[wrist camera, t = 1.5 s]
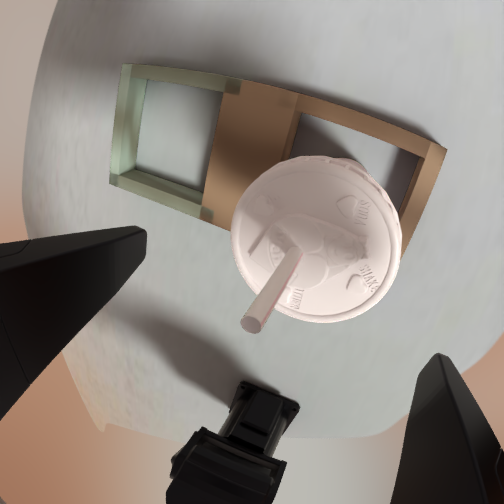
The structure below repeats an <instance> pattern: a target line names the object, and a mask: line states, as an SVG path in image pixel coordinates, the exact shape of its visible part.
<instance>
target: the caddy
mask: <svg viewBox="0 0 504 504" xmlns="http://www.w3.org/2000/svg"><path fill="white" fill-rule="evenodd" d="M147 79H148V80H156V81H163V82H169V83H176V84H182V85H188V86H193V87H199V88H204V89H209V90H214V91H219V92H224V93H223V98H222V102H221V107H220V111H219V116H218V121H217V126H216V131H215V136H214V140H213V145H212V151H211V156H210V161H209V166H208V172H207V177H206V182H205V188H204V193H202V192H199V191H196V190H193V189H191V188H188V187H185V186H182V185H179V184H176V183H174V182H171V181H168V180H165V179H162V178H159V177H156V176H153V175H151V174H148V173H145V172H142V171H139V170H136V169H135V166H136V156H137V147H138V138H139V130H140V123H141V116H142V109H143V102H144V96H145V90H146V84H147ZM301 113H305V114H309V115H312V116H315V117H318V118H321V119H324V120H328V121H331V122H334V123H336V124H339V125H342V126H345V127H348V128H351V129H354V130H356V131H359V132H362V133H365V134H367V135H370V136H372V137H375V138H378V139H380V140H383V141H385V142H388V143H390V144H393V145H395V146H397V147H400V148H402V149H405V150H407V151H409V152H412V153H414V154H416V155H418V156H420V158H419V160H418V163H417V166H416V169H415V171H414V174H413V177H412V179H411V182H410V184H409V187H408V189H407V192H406V194H405V197H404V199H403V202H402V204H401V207H400V209H399V212H398V218H399V222H400V227H401V232H402V244H401V257H400V260H401V258H402V256H403V254H404V252H405V250H406V248H407V246H408V244H409V242H410V239H411V237H412V235H413V233H414V231H415V229H416V226H417V224H418V222H419V220H420V217H421V215H422V213H423V211H424V208H425V206H426V204H427V201H428V199H429V196H430V194H431V192H432V189H433V187H434V184H435V182H436V179H437V176H438V174H439V171H440V169H441V166H442V163H443V161H444V158H445V155H446V152H447V150H448V149H446V148H444V147H443V146H441V145H439V144H437V143H435V142H432V141H430V140H428V139H426V138H424V137H421V136H419V135H417V134H415V133H412V132H410V131H408V130H405V129H403V128H400V127H398V126H395V125H393V124H390V123H388V122H385V121H383V120H380V119H378V118H375V117H372V116H370V115H367V114H364V113H361V112H358V111H356V110H353V109H350V108H347V107H344V106H341V105H338V104H335V103H332V102H328V101H325V100H322V99H319V98H315V97H312V96H309V95H305V94H302V93H298V92H294V91H291V90H287V89H283V88H279V87H275V86H271V85H267V84H262V83H258V82H254V81H249V80H244V79H239V78H234V77H229V76H224V75H219V74H213V73H207V72H201V71H194V70H187V69H180V68H172V67H164V66H155V65H144V64H125V63H123V64H122V69H121V75H120V82H119V88H118V95H117V103H116V110H115V119H114V128H113V138H112V149H111V163H110V179H109V184H111V185H114V186H117V187H119V188H122V189H124V190H127V191H129V192H132V193H135V194H137V195H140V196H142V197H145V198H147V199H150V200H152V201H155V202H158V203H160V204H163V205H165V206H168V207H170V208H173V209H175V210H178V211H180V212H183V213H185V214H188V215H190V216H193V217H196V218H198V219H201V220H203V221H206V222H208V223H211V224H213V225H216V226H218V227H221V228H223V229H226V230H228V231H231V223H232V218H233V214H234V211H235V208H236V206H237V203H238V202H239V200H240V198H241V196H242V195H243V193H244V192H245V190H246V189H247V188H248V187H249V186H250V185H251V184H252V183H253V182H254V181H255V180H256V179H257V178H258V177H260V175H261V174H263V173H264V172H266V171H267V170H269V169H270V168H272V167H273V166H275V165H276V164H278V163H280V162H283V161H286V160H289V157H290V153H291V149H292V146H293V142H294V138H295V135H296V131H297V128H298V124H299V120H300V117H301Z"/></svg>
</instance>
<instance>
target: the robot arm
mask: <svg viewBox="0 0 504 504" xmlns="http://www.w3.org/2000/svg"><path fill="white" fill-rule="evenodd" d="M146 246H147V232H146V231H145V230H144V229H142V228H140V227H138V226H126V227H118V228H110V229H102V230H94V231H87V232H79V233H72V234H65V235H58V236H51V237H44V238H37V239H33V240H31V239H30V240H24V241H17V242H10V243H2V244H0V421H1V419H2V418H3V417H4V416H5V414H6V413H7V412H8V411H9V410H10V408H11V407H12V406H13V405H14V404H15V402H16V401H17V400H18V399H19V398H20V397H21V395H22V394H23V393H24V392H25V391H26V390H27V388H28V387H29V386H30V384H32V382H33V381H34V380H35V379H36V378H37V377H38V376H39V375H40V374H41V372H42V371H43V370H44V369H45V368H46V367H47V365H49V364H50V362H51V361H52V360H53V359H54V358H55V357H56V356H57V355H58V354H59V353H60V352H61V350H62V349H63V348H64V347H65V346H66V345H67V344H68V343H69V342H70V341H71V340H72V339H73V338H74V337H75V335H76V334H77V333H78V332H79V331H80V330H81V329H82V328H83V327H84V326H85V325H86V324H87V323H88V322H89V321H90V320H91V319H92V318H93V317H94V316H95V315H96V314H97V313H98V312H99V311H100V310H101V309H102V308H103V306H104V305H105V304H106V303H107V302H108V301H109V300H110V299H111V298H112V297H113V296H114V295H115V294H116V293H117V292H118V291H119V290H120V288H121V287H122V286H123V285H124V283H125V282H126V281H127V280H128V279H129V277H130V276H131V275H132V274H133V272H134V271H135V270H136V269H137V268H138V266H139V265H140V264H141V263H142V262H143V260H144V258H145V256H146ZM299 410H300V406H299V405H297V404H295V403H293V402H290V401H288V400H285V399H283V398H281V397H278V396H276V395H274V394H271V393H269V392H267V391H264V390H262V389H260V388H258V387H255V386H253V385H251V384H249V383H247V382H244V381H242V382H240V384H239V386H238V388H237V391H236V394H235V397H234V399H233V402H232V405H231V408H230V410H229V413H230V414H229V416H228V417H227V419H226V421H225V423H224V424H223V426H222V428H221V429H220V431H219V433H218V434H216V433H213V432H211V431H209V430H207V428H205V427H203V426H202V427H201V429H200V430H199V431H195V432H194V434H193V435H192V437H191V438H190V440H189V441H188V442H187V444H186V445H185V446H184V447H183V448H181V449H180V450H179V451H178V452H177V453H176V454H175V455H174V456H173V457H172V459H171V463H172V469H171V473H170V478H171V479H173V481H172V482H171V484H170V486H169V487H168V489H167V491H166V504H272V502H273V500H274V498H275V496H276V493H277V490H278V488H279V485H280V482H281V479H282V476H283V473H284V471H285V467H286V464H287V462H285V461H283V460H282V461H280V460H278V459H275V458H272V456H273V454H274V451H275V449H276V447H277V445H278V442H279V440H280V438H281V436H282V435H283V433H284V432H285V431H286V429H287V428H288V426H289V425H290V424H291V422H292V421H293V419H294V418H295V416H296V415H297V413H298V412H299ZM500 448H501V446H500V444H499V442H498V440H497V438H496V436H495V434H494V432H493V430H492V429H491V427H490V425H489V423H488V421H487V420H486V418H485V416H484V414H483V412H482V411H481V409H480V407H479V405H478V404H477V402H476V400H475V399H474V397H473V395H472V393H471V392H470V390H469V388H468V387H467V385H466V383H465V382H464V380H463V379H462V377H461V375H460V374H459V372H458V370H457V369H456V367H455V366H454V364H453V363H452V361H451V359H450V358H449V357H448V356H445V355H443V354H440V353H436V354H435V355H434V356H433V357H432V358H431V359H430V360H429V362H428V363H427V364H426V365H425V367H424V368H423V369H422V370H421V372H420V373H419V375H418V378H417V383H416V387H415V392H414V396H413V400H412V405H411V409H410V413H409V417H408V421H407V426H406V431H405V437H404V443H403V448H402V454H401V459H400V465H399V469H398V474H397V478H396V482H395V487H394V491H393V495H392V499H391V502H390V504H504V451H503V449H500ZM0 504H6V503H5V502H4V501H3V500H2V499H1V497H0Z"/></svg>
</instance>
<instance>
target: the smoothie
mask: <svg viewBox="0 0 504 504" xmlns="http://www.w3.org/2000/svg"><path fill="white" fill-rule="evenodd" d="M401 244H402V232H401V227H400V222H399V218H398V213H397V211H396V209H395V207H394V205H393V204H392V202H391V200H390V198H389V196H388V194H387V193H386V191H385V190H384V189H383V188H382V187H381V186H380V185H379V184H378V183H377V182H376V181H375V180H374V179H373V178H372V177H371V176H370V175H369V173H368V172H367V170H366V169H365V168H364V167H363V166H362V165H361V164H359V163H358V162H356V161H354V160H352V159H348V158H331V157H327V156H299V157H296V158H293V159H289V160H286V161H283V162H280V163H278V164H276V165H275V166H273V167H272V168H270V169H269V170H267V171H266V172H264V173H263V174H261V175H260V177H258V178H257V179H256V180H255V181H254V182H253V183H252V184H251V185H250V186H249V187H248V188H247V189H246V190H245V192H244V193H243V195H242V196H241V198H240V200H239V202H238V203H237V206H236V208H235V211H234V214H233V218H232V223H231V246H232V251H233V256H234V259H235V262H236V264H237V267H238V269H239V271H240V273H241V275H242V276H243V278H244V280H245V281H246V283H247V284H248V285H249V287H250V288H251V289H252V290H253V291H254V292H255V293H256V294H257V295H258V296H257V297H256V299H255V300H254V302H253V303H252V305H251V306H250V308H249V309H248V310H247V312H246V313H245V315H244V316H243V318H242V319H241V325H242V327H243V329H244V330H245V331H247V332H249V333H252V334H256V333H259V332H260V331H261V329H262V328H263V326H264V324H265V323H266V321H267V319H268V317H269V316H270V314H271V312H272V311H273V309H276V310H278V311H279V312H281V313H284V314H286V315H288V316H291V317H293V318H296V319H300V320H304V321H309V322H318V323H329V322H338V321H343V320H347V319H350V318H353V317H355V316H358V315H360V314H362V313H364V312H365V311H367V310H368V309H370V308H371V307H373V306H374V305H375V304H376V303H378V302H379V301H380V300H381V299H382V297H383V296H384V295H385V294H386V293H387V291H388V290H389V288H390V287H391V285H392V283H393V281H394V279H395V277H396V274H397V271H398V268H399V263H400V257H401Z"/></svg>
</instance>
